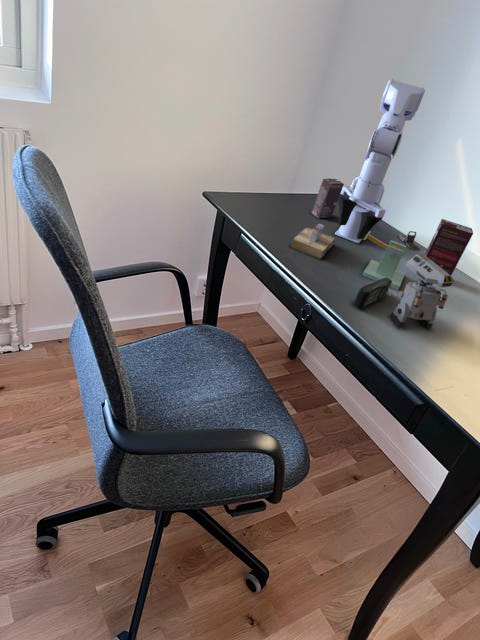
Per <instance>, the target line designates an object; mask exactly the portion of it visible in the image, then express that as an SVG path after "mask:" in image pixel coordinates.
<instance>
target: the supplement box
mask: <svg viewBox="0 0 480 640" xmlns="http://www.w3.org/2000/svg"><path fill="white" fill-rule="evenodd" d="M473 236H474V231H473V228H472V227H469V226H467V225H463V224H459V223H456V222H454V221H450V220H447V219H444V218H441V220H440V222H439V224H438V225H437V228H436V230H435V232H434V234H433V237H432V238H431V240H430V242H429V244H428V247H427V249H426V251H425V253H424V255H425V256H427V257H428V258H429V259H430V260H432V261H433V262H434V263H435V264H437V265H438V266H439V267H440V266H441V265H443V268H442V269H443V270H444V271H446V272H447V273H448V274H449V275H451V276H452V275H453V273H454V272H455V270H456V267H457V265H458V264H459V262H460V260H461V259H462V256H463V254H464V252H465V250H466V249H467V246H468V245H469V243H470V241H471V240H472V237H473Z"/></svg>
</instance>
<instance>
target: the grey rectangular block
mask: <svg viewBox="0 0 480 640" xmlns="http://www.w3.org/2000/svg"><path fill="white" fill-rule="evenodd" d="M324 227H325V225H324V224H321V223H318V224H316V225H315V227H313V228H312V229H313V230H312V233H311V236H310V239H309V240H310V241H313V242H315V241H316V240H317V239H318V238H319V237H320V236H321V233H323V230H324Z"/></svg>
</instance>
